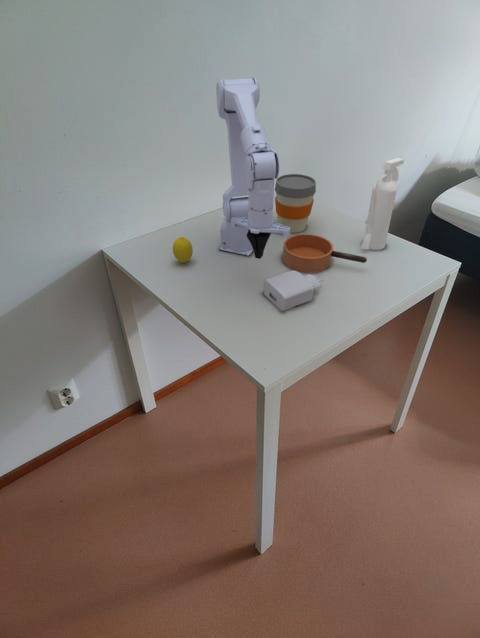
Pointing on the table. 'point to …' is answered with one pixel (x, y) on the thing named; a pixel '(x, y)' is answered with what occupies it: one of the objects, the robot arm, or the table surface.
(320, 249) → the pan
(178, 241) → the lemon
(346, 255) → the pan handle
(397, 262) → the table surface
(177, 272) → the table surface
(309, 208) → the reusable coffee cup
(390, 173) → the white spray bottle
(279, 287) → the charger
